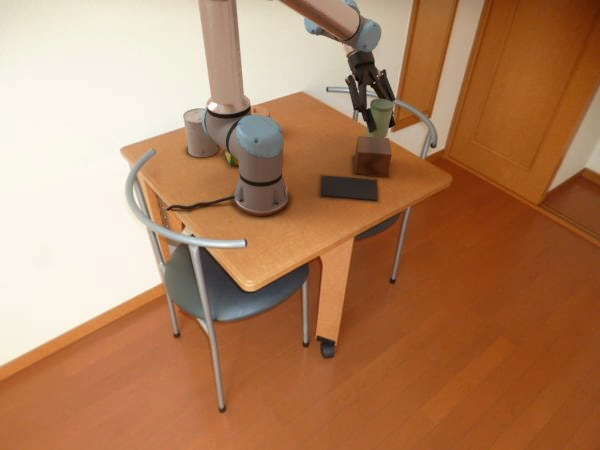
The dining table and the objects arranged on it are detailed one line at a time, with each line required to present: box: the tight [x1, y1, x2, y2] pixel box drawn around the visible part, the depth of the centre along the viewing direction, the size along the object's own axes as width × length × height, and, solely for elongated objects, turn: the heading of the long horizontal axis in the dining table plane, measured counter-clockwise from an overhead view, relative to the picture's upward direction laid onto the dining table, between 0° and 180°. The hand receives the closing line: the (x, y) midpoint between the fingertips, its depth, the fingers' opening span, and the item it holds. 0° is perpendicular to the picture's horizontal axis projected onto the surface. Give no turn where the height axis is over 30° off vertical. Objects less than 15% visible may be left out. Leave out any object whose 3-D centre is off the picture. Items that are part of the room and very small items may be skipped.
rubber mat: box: [321, 175, 378, 202], centre depth 125 cm, size 16×10×1 cm, turn 86°
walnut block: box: [353, 135, 393, 177], centre depth 132 cm, size 10×10×8 cm
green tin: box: [365, 98, 395, 138], centre depth 123 cm, size 7×7×10 cm
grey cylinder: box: [182, 107, 219, 158], centre depth 134 cm, size 10×10×12 cm
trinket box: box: [251, 105, 271, 118], centre depth 145 cm, size 11×11×9 cm
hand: (382, 128), depth 123 cm, fingers closed on green tin, 6 cm apart
